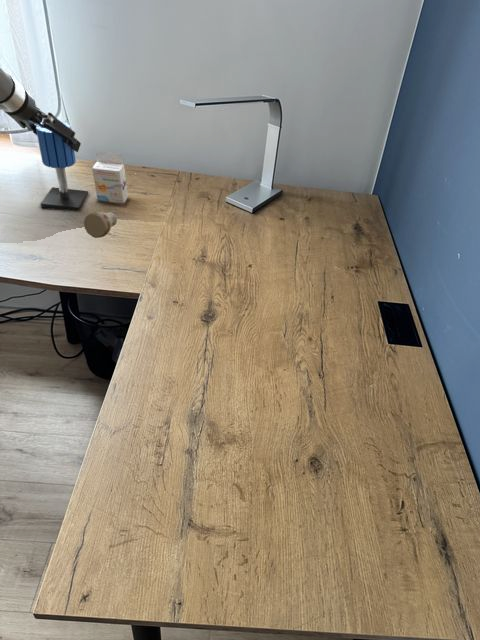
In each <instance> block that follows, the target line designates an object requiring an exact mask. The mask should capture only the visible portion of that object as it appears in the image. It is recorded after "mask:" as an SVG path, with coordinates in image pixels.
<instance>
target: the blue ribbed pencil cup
mask: <svg viewBox="0 0 480 640" xmlns="http://www.w3.org/2000/svg"><path fill="white" fill-rule="evenodd" d="M61 122H62V123H63V124H65V125H66V126H67V127H69V128H70V129H71V130H72V127H71V125H70V124H69V123H67V122H65V121H61ZM42 123H43V121H42ZM42 123H41V124H42ZM35 125H36V124H35ZM36 132H37V135H36V137H37V142H38V147H39V153H40V157H41V162H42V164H43V166H45V167H47V168H51V169H55V168H58V167H59V168H65V169H66V168H70V167H72V166H75V164H76V162H77V161H76V154H75V153H76V152H75V151H74V150H73V149H72V148H71V147H70V146H69V145H68V144H66V143H64V141H63V138H61V137H59V136H58V135H56V134H54V133H53V132H51V131H50V130H48V129H46V128H41V127H40V126H38V125H36Z"/></svg>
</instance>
